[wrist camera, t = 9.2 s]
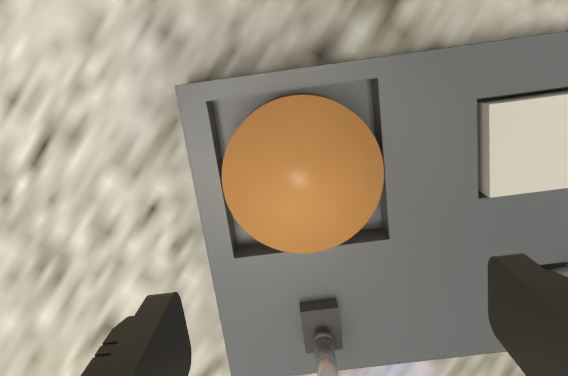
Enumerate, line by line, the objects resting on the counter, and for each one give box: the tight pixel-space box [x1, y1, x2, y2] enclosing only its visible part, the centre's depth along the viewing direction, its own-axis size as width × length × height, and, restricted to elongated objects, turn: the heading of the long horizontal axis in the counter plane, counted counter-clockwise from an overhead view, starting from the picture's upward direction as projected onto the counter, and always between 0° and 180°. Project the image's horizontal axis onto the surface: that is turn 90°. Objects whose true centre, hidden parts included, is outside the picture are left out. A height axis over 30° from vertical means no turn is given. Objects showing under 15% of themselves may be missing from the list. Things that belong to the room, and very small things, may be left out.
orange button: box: [222, 93, 384, 254], centre depth 25 cm, size 9×9×2 cm
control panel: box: [175, 31, 568, 376], centre depth 27 cm, size 28×20×4 cm
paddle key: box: [477, 90, 568, 198], centre depth 25 cm, size 10×5×2 cm, turn 98°
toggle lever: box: [314, 332, 339, 376], centre depth 25 cm, size 2×2×6 cm
